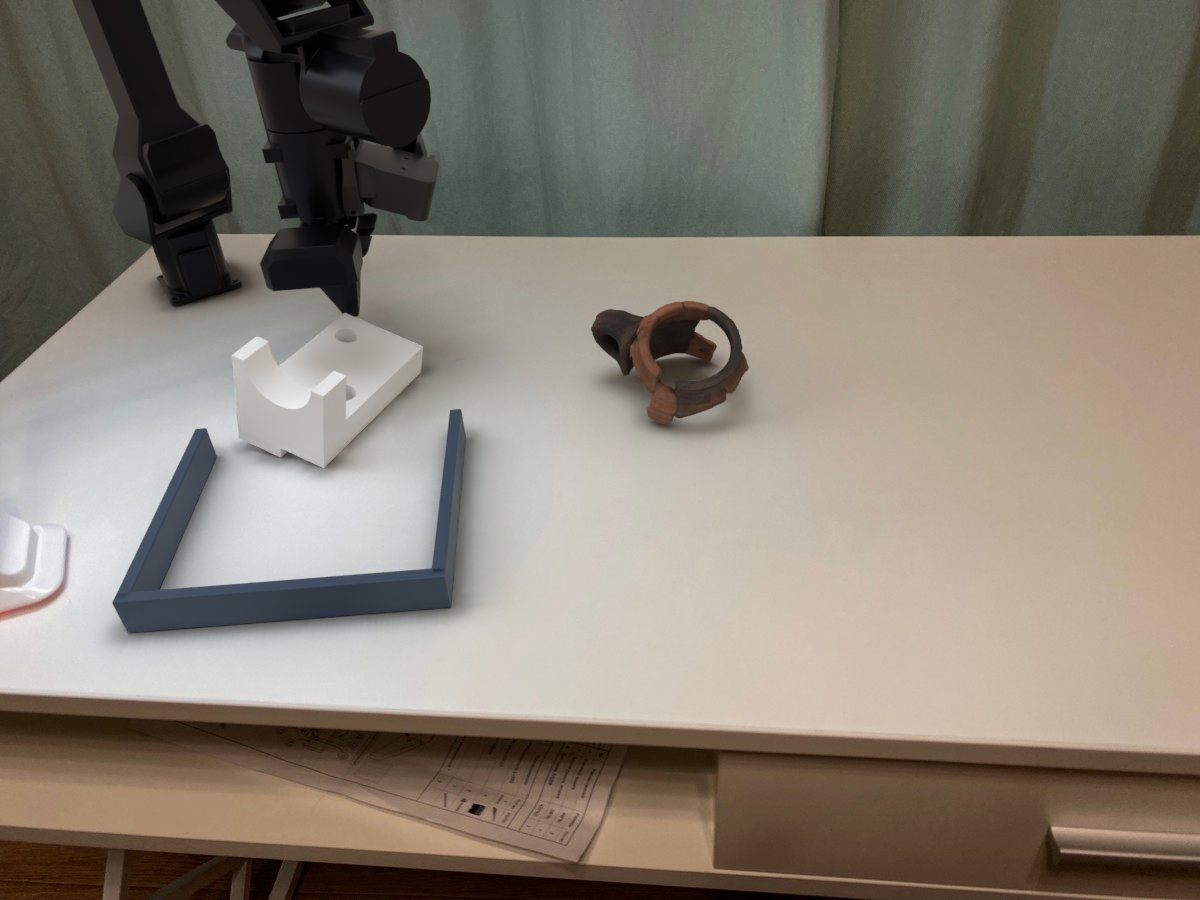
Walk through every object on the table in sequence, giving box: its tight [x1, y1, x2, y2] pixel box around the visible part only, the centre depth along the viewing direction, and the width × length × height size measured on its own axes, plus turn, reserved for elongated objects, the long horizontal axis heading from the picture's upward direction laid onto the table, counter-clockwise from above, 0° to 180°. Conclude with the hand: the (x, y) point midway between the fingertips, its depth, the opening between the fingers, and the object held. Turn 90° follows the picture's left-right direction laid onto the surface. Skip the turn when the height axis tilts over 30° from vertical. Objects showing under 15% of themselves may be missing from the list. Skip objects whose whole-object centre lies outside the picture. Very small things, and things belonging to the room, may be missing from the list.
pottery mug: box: [590, 300, 750, 426], centre depth 70 cm, size 12×10×8 cm
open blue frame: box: [111, 408, 467, 634], centre depth 60 cm, size 17×19×2 cm
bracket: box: [231, 313, 424, 469], centre depth 69 cm, size 13×7×8 cm, turn 157°
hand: (352, 315), depth 76 cm, fingers closed
